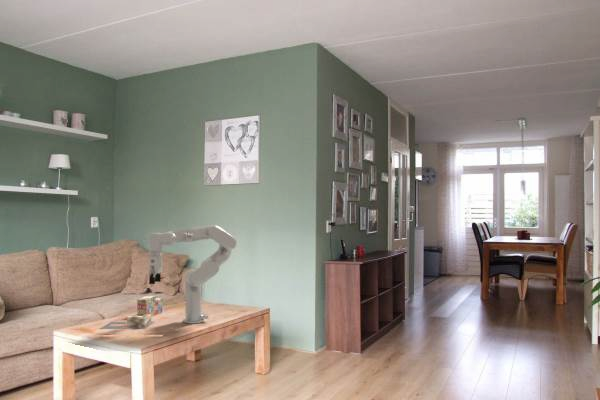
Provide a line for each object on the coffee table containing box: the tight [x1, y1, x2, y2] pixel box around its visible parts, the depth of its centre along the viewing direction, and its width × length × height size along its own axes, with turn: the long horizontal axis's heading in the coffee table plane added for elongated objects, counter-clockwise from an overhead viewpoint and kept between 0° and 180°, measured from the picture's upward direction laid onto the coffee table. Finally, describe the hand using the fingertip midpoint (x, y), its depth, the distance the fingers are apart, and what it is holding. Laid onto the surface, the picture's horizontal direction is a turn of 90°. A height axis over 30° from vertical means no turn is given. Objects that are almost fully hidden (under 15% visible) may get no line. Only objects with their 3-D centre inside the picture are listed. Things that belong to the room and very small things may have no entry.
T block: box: [126, 314, 152, 328], centre depth 288 cm, size 12×12×5 cm
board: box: [99, 321, 155, 330], centre depth 288 cm, size 26×18×1 cm
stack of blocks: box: [136, 295, 163, 318], centre depth 320 cm, size 21×6×12 cm, turn 169°
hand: (155, 282), depth 293 cm, fingers open, 9 cm apart
